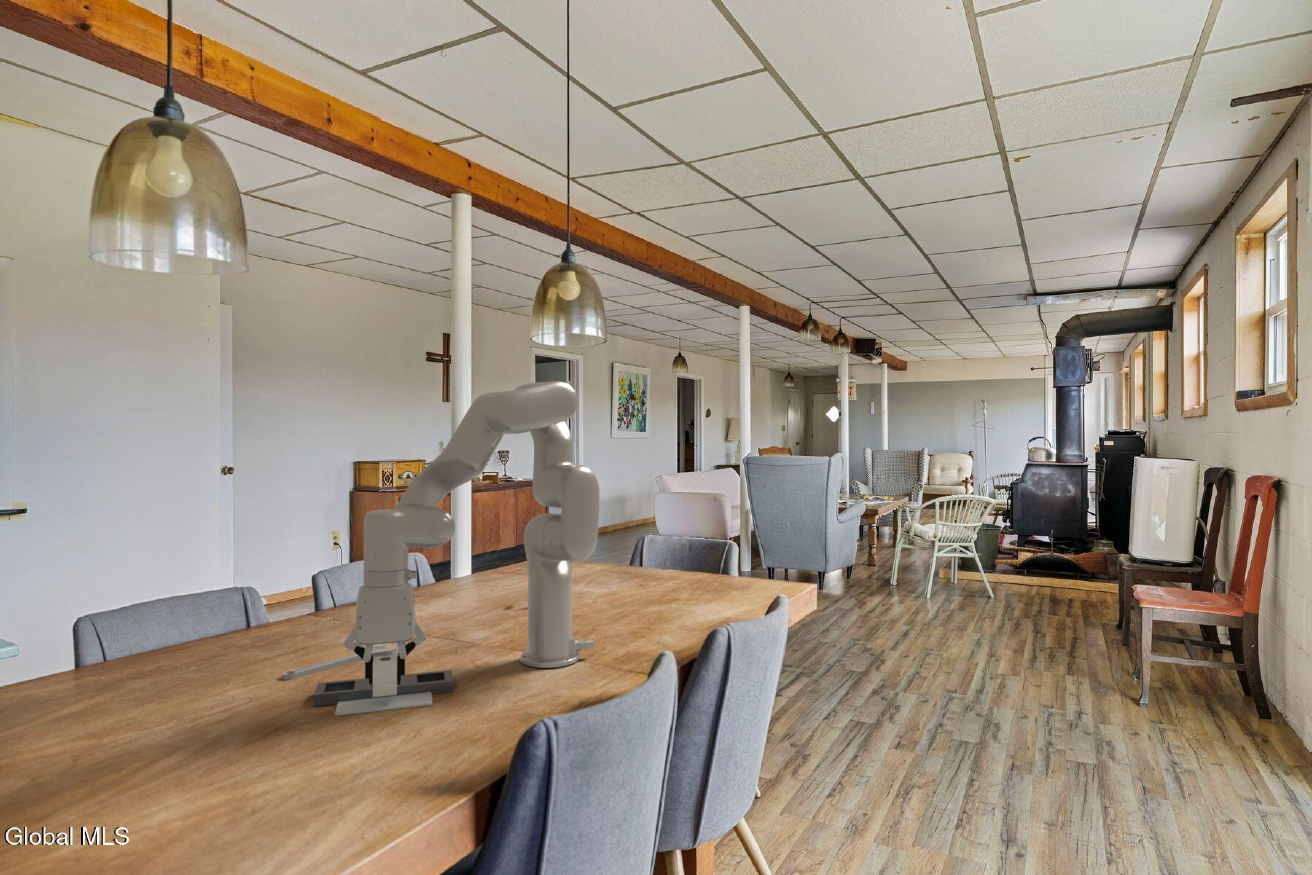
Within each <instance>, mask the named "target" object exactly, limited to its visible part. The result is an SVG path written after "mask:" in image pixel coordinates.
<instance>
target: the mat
mask: <svg viewBox="0 0 1312 875" xmlns="http://www.w3.org/2000/svg"><path fill="white" fill-rule="evenodd" d="M432 695H433V694H431V692H425V693H415V694H406V695H396V696H387V697H377V698H368V699H358V700H349V701H339V702H338V704H336V709H335V711H334V716H335V717H336V716H344V715H354V714H356V715H357V714H363V713H372V712H382V711H391V710H400V709H409V708H417V707H419V708H420V707H426V706H433V697H432Z"/></svg>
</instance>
